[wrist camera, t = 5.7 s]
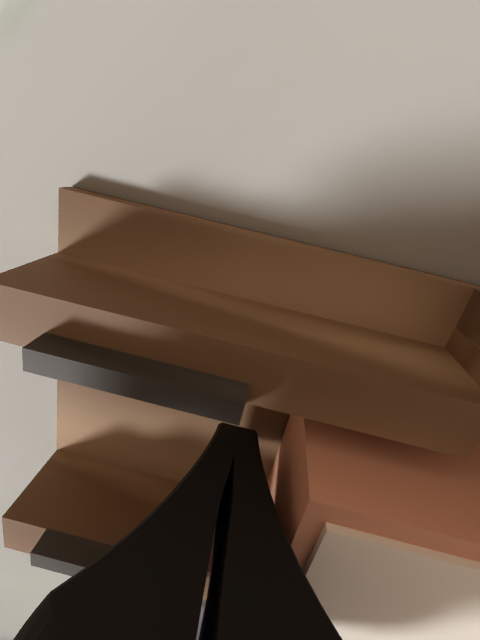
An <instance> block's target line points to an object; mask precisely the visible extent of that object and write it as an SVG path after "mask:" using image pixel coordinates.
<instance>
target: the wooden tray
mask: <svg viewBox="0 0 480 640" xmlns="http://www.w3.org/2000/svg"><path fill="white" fill-rule="evenodd" d="M0 341H3V342H7V343H11V344H15V345H19V346H23V348H22V353H23V371H26V372H30V373H34V374H38V375H42V376H46V377H50V378H54V379H58V382H57V450H56V452H55V453H54V454H53V455H52V457H51V458H50V459H49V460H48V461H47V463H46V464H45V465H44V466H43V468H42V469H41V470H40V471H39V472H38V474H37V475H36V476H35V477H34V479H33V480H32V481H31V482H30V483H29V485H28V486H27V487H26V488H25V490H24V491H23V492H22V493H21V495H20V496H19V497H18V498H17V499H16V501H15V502H14V503H13V504H12V506H11V507H10V508H9V509H8V510H7V512H6V513H5V514H4V515H3V517H2V524H3V535H4V547H6V548H10V549H14V550H18V551H21V552H25V553H29V554H30V556H31V565H32V566H36V567H40V568H43V569H47V570H51V571H55V572H58V573H62V574H66V575H69V576H74V575H75V574H77V573H78V572H79V571H81V570H82V569H84V568H85V567H87V566H88V565H89V564H91V563H92V562H93V561H95V560H96V559H97V558H99V557H100V556H101V555H102V554H104V553H105V552H106V551H107V550H109V549H110V548H111V547H112V546H114V545H115V544H116V543H117V542H119V541H120V540H121V539H122V538H124V537H125V536H126V535H127V534H128V533H129V532H131V531H132V530H133V529H134V528H135V527H136V526H137V525H138V524H139V523H141V522H142V521H143V520H144V519H145V518H146V517H147V516H148V515H149V514H150V513H151V512H152V511H153V510H154V509H155V508H156V507H157V506H158V505H159V504H160V503H161V502H162V501H163V500H164V499H165V498H166V497H167V496H168V495H169V494H170V493H171V492H172V491H173V489H174V488H175V487H176V486H177V485H178V484H179V482H180V481H181V480H182V479H183V478H184V476H185V475H186V474H187V473H188V472H189V470H190V469H191V468H192V467H193V465H194V464H195V463H196V461H197V460H198V458H199V457H200V456H201V454H202V453H203V451H204V450H205V448H206V447H207V445H208V444H209V442H210V440H211V439H212V437H213V435H214V433H215V431H216V429H217V426H218V424H220V423H222V422H223V423H227V424H231V425H235V426H239V427H243V428H247V429H251V430H255V431H256V432H257V434H258V442H259V449H260V454H261V459H262V463H263V467H264V471H265V475H266V478H267V481H268V478H269V475H270V472H271V469H272V466H273V464H274V461H275V458H276V455H277V452H278V449H279V446H280V443H281V440H282V437H283V434H284V431H285V428H286V425H287V423H288V420H289V417H290V414H291V415H295V416H299V417H303V418H307V419H311V420H315V421H319V422H323V423H327V424H331V425H334V426H338V427H342V428H346V429H350V430H354V431H358V432H362V433H366V434H370V435H374V436H378V437H382V438H386V439H390V440H394V441H398V442H402V443H405V444H409V445H413V446H417V447H421V448H425V449H429V450H433V451H437V452H441V453H445V454H449V455H453V456H457V457H461V458H465V459H469V458H470V456H471V454H472V453H473V451H474V450H475V448H476V447H477V445H478V443H479V442H480V286H479V285H475V284H470V283H466V282H462V281H458V280H454V279H450V278H446V277H441V276H437V275H433V274H429V273H425V272H421V271H417V270H412V269H408V268H404V267H400V266H396V265H392V264H388V263H384V262H379V261H375V260H371V259H367V258H363V257H359V256H355V255H350V254H346V253H342V252H338V251H334V250H330V249H326V248H321V247H317V246H313V245H309V244H305V243H301V242H297V241H293V240H288V239H284V238H280V237H276V236H272V235H268V234H264V233H259V232H255V231H251V230H247V229H243V228H239V227H235V226H230V225H226V224H222V223H218V222H214V221H210V220H206V219H201V218H197V217H193V216H189V215H185V214H181V213H177V212H173V211H168V210H164V209H160V208H156V207H152V206H148V205H144V204H139V203H135V202H131V201H127V200H123V199H119V198H115V197H110V196H106V195H102V194H98V193H94V192H90V191H86V190H81V189H77V188H73V187H62V188H59V238H58V253H55V254H53V255H50V256H47V257H44V258H42V259H39V260H36V261H33V262H31V263H28V264H25V265H22V266H20V267H17V268H14V269H11V270H8V271H6V272H3V273H0ZM215 528H216V526H215ZM214 536H215V532H214ZM213 545H214V537H213V543H212V549H211V554H210V560H209V565H208V571H207V577H206V583H205V589H204V594H203V600H204V601H206V598H207V592H208V586H209V579H210V571H211V562H212V554H213Z"/></svg>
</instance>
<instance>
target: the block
mask: <svg viewBox="0 0 480 640" xmlns="http://www.w3.org/2000/svg"><path fill="white" fill-rule="evenodd" d="M267 482H268V485H269V489H270V492H271V495H272V498H273V501H274V504H275V507H276V510H277V513H278V515H279V518H280V521H281V523H282V526H283V528H284V531H285V533H286V535H287V538H288V540H289V542H290V544H291V547H292V549H293V551H294V553H295V555H296V557H297V560H298V562H299V564H300V566H301V568H302V570H303V572H304V574H305V575H306V577H307V579H308V581H309V583H310V585H311V586H312V588H313V590H314V592H315V594H316V596H317V598H318V599H319V601H320V603H321V605H322V607H323V608H324V610H325V612H326V613H327V615H328V617H329V618H330V620H331V622H332V623H333V625H334V627H335V628H336V630H337V632H338V633H339V635H340V636H341V638H342V639H343V640H480V442H479V443H478V445H477V447H476V448H475V450H474V451H473V453H472V454H471V456H470V458H469V459H465V458H461V457H457V456H453V455H449V454H445V453H441V452H437V451H433V450H429V449H425V448H421V447H417V446H413V445H409V444H405V443H402V442H398V441H394V440H390V439H386V438H382V437H378V436H374V435H370V434H366V433H362V432H358V431H354V430H350V429H346V428H342V427H338V426H334V425H331V424H327V423H323V422H319V421H315V420H311V419H307V418H303V417H299V416H295V415H291V414H290V417H289V420H288V423H287V425H286V428H285V431H284V434H283V437H282V440H281V443H280V446H279V449H278V452H277V455H276V458H275V461H274V464H273V466H272V469H271V472H270V475H269V478H268V481H267Z"/></svg>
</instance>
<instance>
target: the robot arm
mask: <svg viewBox="0 0 480 640" xmlns="http://www.w3.org/2000/svg"><path fill="white" fill-rule="evenodd" d="M215 526H216V528H215ZM214 532H215V536H214ZM213 537H214V545H213V554H212V562H211V571H210V579H209V586H208V592H207V598H206V601H204V600H203V594H204V589H205V583H206V577H207V571H208V565H209V560H210V554H211V549H212V543H213ZM13 640H343V639H342V638H341V636H340V635H339V633H338V632H337V630H336V628H335V627H334V625H333V623H332V622H331V620H330V618H329V617H328V615H327V613H326V612H325V610H324V608H323V607H322V605H321V603H320V601H319V599H318V598H317V596H316V594H315V592H314V590H313V588H312V586H311V585H310V583H309V581H308V579H307V577H306V575H305V574H304V572H303V570H302V568H301V566H300V564H299V562H298V560H297V557H296V555H295V553H294V551H293V549H292V547H291V544H290V542H289V540H288V538H287V535H286V533H285V531H284V528H283V526H282V523H281V521H280V518H279V515H278V513H277V510H276V507H275V504H274V501H273V498H272V495H271V492H270V489H269V485H268V482H267V478H266V475H265V471H264V467H263V463H262V459H261V454H260V449H259V442H258V434H257V432H256V431H255V430H251V429H247V428H243V427H239V426H235V425H231V424H227V423H223V422H222V423H220V424H218V426H217V429H216V431H215V433H214V435H213V437H212V439H211V440H210V442H209V444H208V445H207V447H206V448H205V450H204V451H203V453H202V454H201V456H200V457H199V458H198V460H197V461H196V463H195V464H194V465H193V467H192V468H191V469H190V470H189V472H188V473H187V474H186V475H185V476H184V478H183V479H182V480H181V481H180V482H179V484H178V485H177V486H176V487H175V488H174V489H173V491H172V492H171V493H170V494H169V495H168V496H167V497H166V498H165V499H164V500H163V501H162V502H161V503H160V504H159V505H158V506H157V507H156V508H155V509H154V510H153V511H152V512H151V513H150V514H149V515H148V516H147V517H146V518H145V519H144V520H143V521H142V522H141V523H139V524H138V525H137V526H136V527H135V528H134V529H133V530H132V531H131V532H129V533H128V534H127V535H126V536H125V537H124V538H122V539H121V540H120V541H119V542H117V543H116V544H115V545H114V546H112V547H111V548H110V549H109V550H107V551H106V552H105V553H104V554H102V555H101V556H100V557H99V558H97V559H96V560H95V561H93V562H92V563H91V564H89V565H88V566H87V567H85V568H84V569H82V570H81V571H79V572H78V573H77V574H75V575H74V576H72V577H71V578H69V579H68V580H67V581H65V582H64V583H62V584H61V585H59V586H58V587H57V588H55V589H54V590H52V591H51V592H50V593H49V594H48V595H47V596H46V597H45V599H44V600H43V601H42V602H41V603H40V605H39V606H38V607H37V608H36V609H35V611H34V612H33V613H32V615H31V616H30V617H29V618H28V620H27V621H26V622H25V624H24V625H23V627H22V628H21V629H20V631H19V632H18V634H17V635H16V637H15V638H14V639H13Z"/></svg>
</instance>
